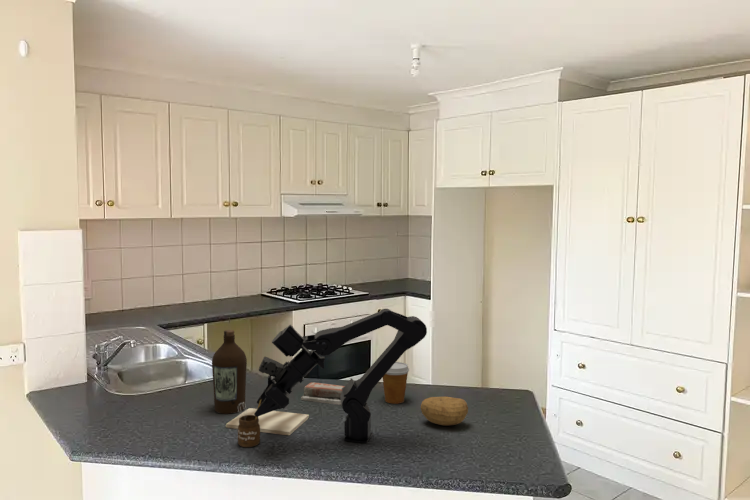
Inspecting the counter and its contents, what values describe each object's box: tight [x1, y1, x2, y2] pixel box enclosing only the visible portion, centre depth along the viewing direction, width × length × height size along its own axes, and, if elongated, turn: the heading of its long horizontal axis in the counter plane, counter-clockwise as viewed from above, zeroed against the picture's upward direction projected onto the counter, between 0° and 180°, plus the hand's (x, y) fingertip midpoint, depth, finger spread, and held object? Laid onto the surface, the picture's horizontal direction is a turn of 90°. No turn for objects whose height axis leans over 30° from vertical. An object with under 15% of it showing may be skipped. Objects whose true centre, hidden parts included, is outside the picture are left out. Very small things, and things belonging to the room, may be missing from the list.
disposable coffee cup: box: [382, 361, 410, 405], centre depth 187 cm, size 10×10×12 cm
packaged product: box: [300, 382, 346, 406], centre depth 189 cm, size 18×5×10 cm
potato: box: [420, 396, 469, 427], centre depth 166 cm, size 10×14×8 cm
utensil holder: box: [237, 400, 261, 448], centre depth 151 cm, size 6×6×12 cm
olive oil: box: [211, 329, 248, 415], centre depth 177 cm, size 11×11×25 cm
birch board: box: [225, 407, 310, 436], centre depth 167 cm, size 20×14×1 cm
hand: (256, 409), depth 152 cm, fingers open, 9 cm apart
